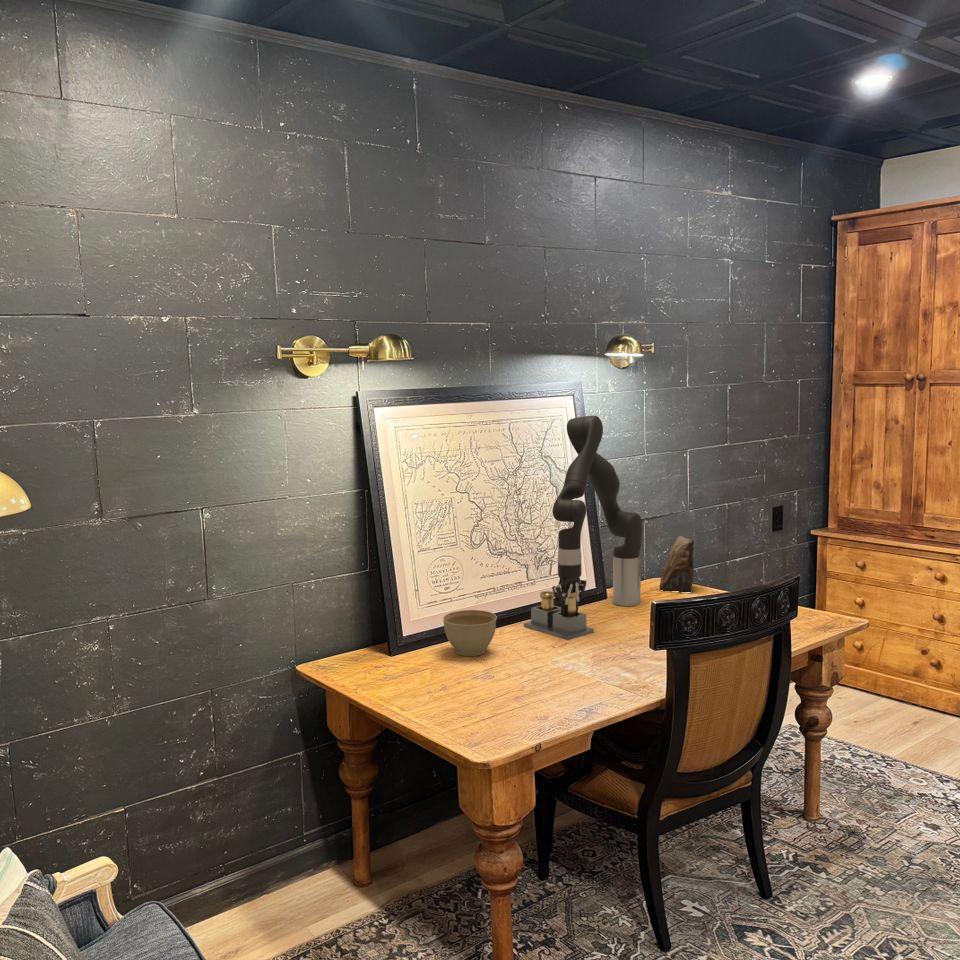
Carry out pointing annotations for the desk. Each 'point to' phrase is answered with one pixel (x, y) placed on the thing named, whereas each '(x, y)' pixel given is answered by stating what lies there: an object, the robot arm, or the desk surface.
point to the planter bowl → (470, 631)
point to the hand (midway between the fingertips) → (569, 613)
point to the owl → (679, 567)
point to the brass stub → (571, 604)
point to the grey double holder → (556, 620)
